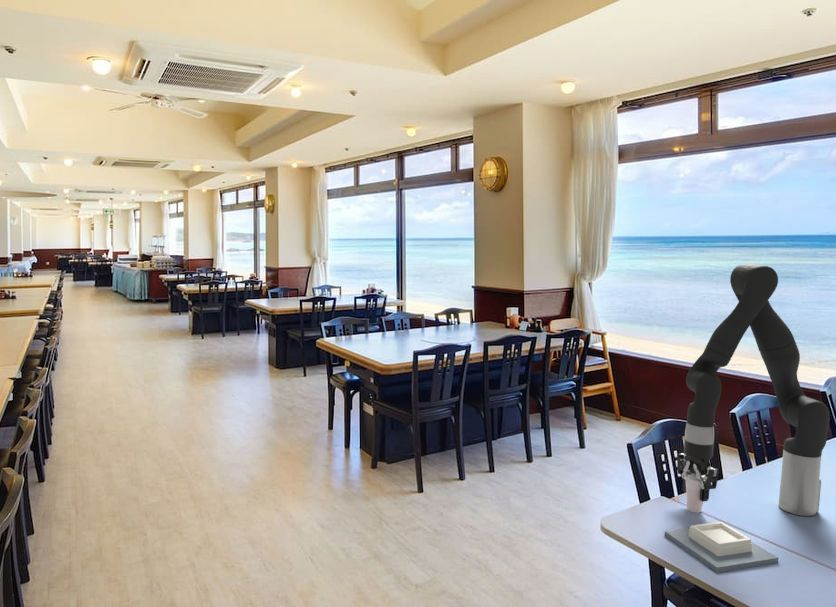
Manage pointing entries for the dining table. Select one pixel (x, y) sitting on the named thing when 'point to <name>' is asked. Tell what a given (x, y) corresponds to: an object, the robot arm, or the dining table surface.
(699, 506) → the smoothie
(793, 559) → the dining table surface
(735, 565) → the grey base with socket
